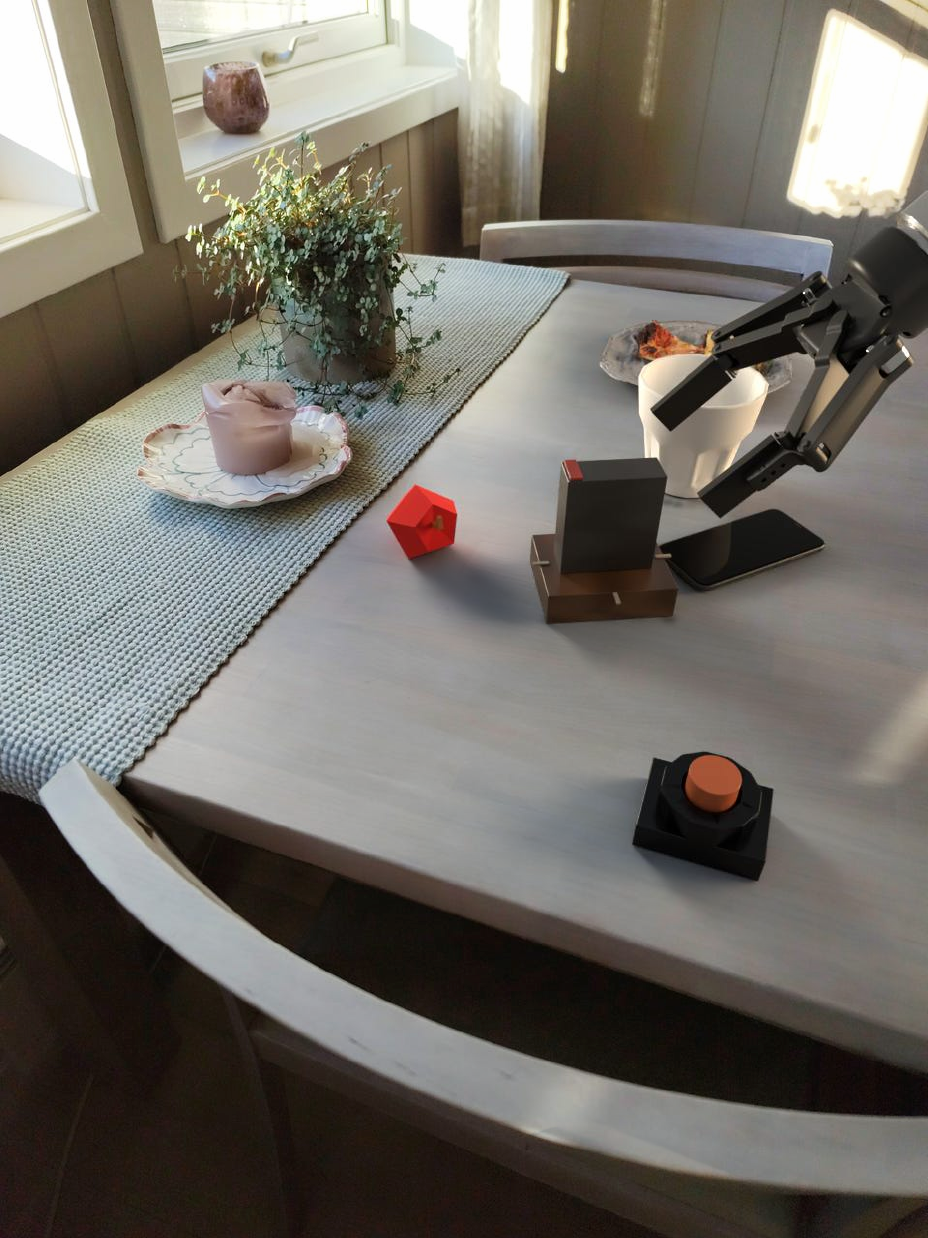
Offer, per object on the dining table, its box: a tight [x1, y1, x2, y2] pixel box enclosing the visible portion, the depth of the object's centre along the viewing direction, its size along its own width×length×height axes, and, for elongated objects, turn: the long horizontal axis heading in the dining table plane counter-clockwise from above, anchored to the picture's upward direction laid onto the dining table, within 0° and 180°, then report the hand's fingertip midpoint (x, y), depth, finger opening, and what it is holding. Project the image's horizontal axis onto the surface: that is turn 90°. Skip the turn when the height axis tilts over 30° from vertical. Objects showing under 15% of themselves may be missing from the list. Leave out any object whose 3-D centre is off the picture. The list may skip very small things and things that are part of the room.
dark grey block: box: [554, 457, 668, 573], centre depth 72 cm, size 8×3×9 cm, turn 96°
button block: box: [631, 751, 775, 882], centre depth 56 cm, size 8×6×4 cm
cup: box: [638, 354, 769, 499], centre depth 88 cm, size 12×12×11 cm
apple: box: [386, 484, 458, 560], centre depth 80 cm, size 7×7×8 cm
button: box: [685, 755, 742, 812], centre depth 54 cm, size 3×3×2 cm
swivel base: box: [529, 533, 679, 625], centre depth 76 cm, size 12×12×3 cm
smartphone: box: [658, 508, 827, 592], centre depth 81 cm, size 7×1×15 cm
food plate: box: [599, 319, 793, 395], centre depth 111 cm, size 25×23×4 cm
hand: (682, 460), depth 70 cm, fingers open, 13 cm apart
